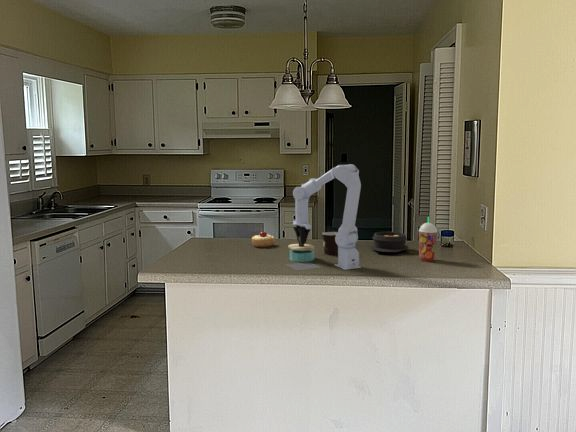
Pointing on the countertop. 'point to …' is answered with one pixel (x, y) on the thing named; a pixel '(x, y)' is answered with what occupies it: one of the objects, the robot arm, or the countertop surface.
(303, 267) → the mat
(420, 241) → the smoothie
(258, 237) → the pastry
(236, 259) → the countertop surface
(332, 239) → the coffee mug
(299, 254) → the bowl
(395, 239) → the casserole
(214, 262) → the countertop surface
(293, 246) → the lid
